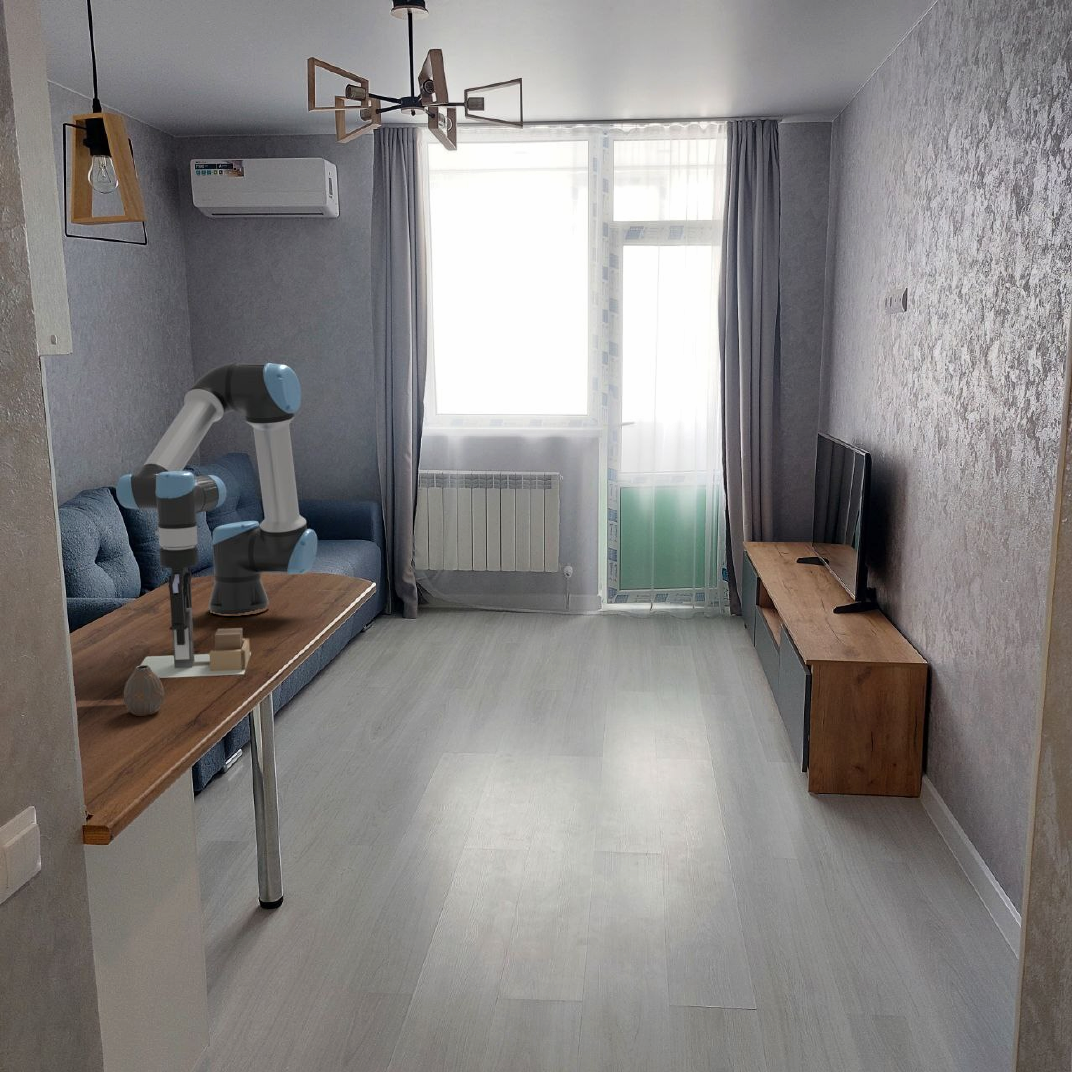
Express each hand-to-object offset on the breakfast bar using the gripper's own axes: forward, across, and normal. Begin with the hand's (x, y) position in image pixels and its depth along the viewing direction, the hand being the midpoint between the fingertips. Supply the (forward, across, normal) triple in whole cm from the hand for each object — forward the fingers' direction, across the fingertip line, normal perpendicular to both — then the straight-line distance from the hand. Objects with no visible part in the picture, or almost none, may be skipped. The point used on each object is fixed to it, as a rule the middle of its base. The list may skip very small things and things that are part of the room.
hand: (184, 655), depth 210 cm
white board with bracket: (+3, 0, +2) cm, 4 cm away
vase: (+3, +26, -3) cm, 26 cm away
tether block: (+2, 0, +5) cm, 5 cm away
